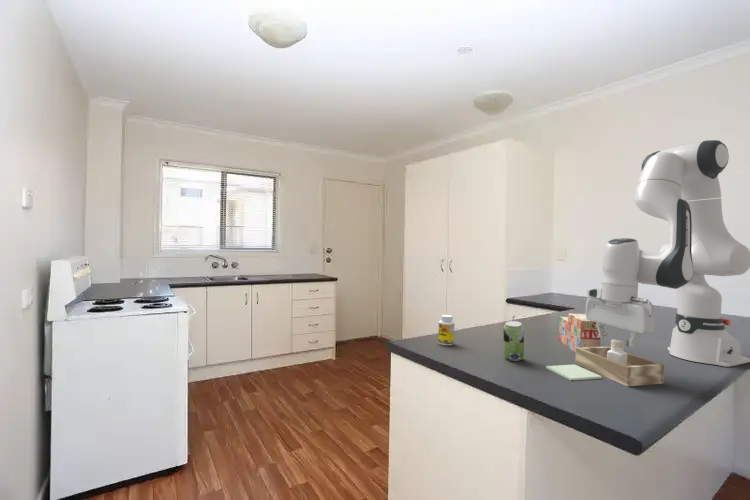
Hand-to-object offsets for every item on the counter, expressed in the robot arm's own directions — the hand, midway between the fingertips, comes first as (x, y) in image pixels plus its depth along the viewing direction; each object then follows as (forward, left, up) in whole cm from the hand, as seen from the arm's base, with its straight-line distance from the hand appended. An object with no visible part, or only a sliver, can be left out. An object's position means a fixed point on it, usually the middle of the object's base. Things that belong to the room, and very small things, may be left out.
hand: (616, 342), depth 107 cm
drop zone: (+13, -2, -9) cm, 16 cm away
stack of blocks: (-9, -24, -9) cm, 28 cm away
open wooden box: (0, 0, -9) cm, 9 cm away
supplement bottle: (+37, -36, -9) cm, 52 cm away
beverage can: (+23, -16, -9) cm, 29 cm away
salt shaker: (0, 0, -9) cm, 9 cm away
